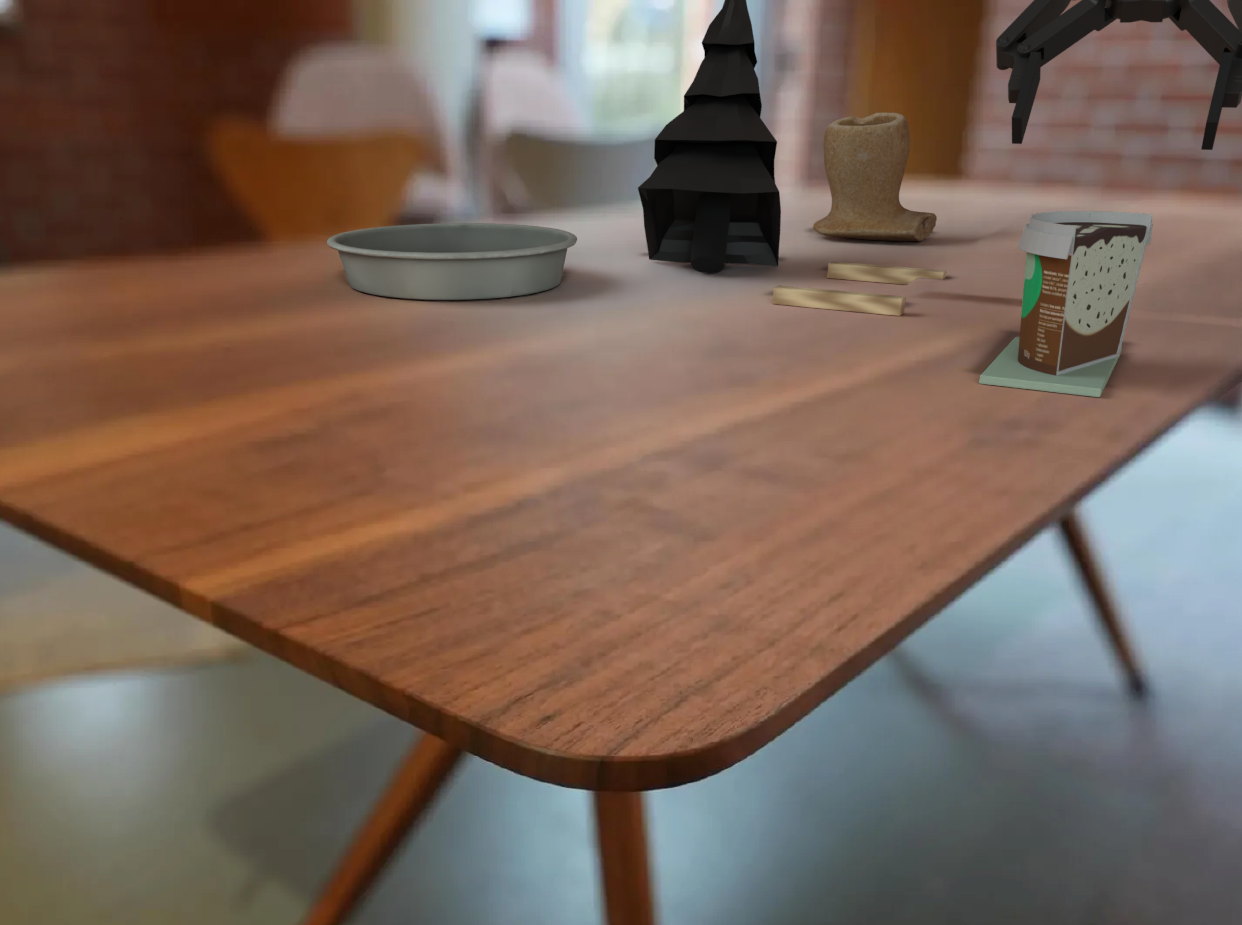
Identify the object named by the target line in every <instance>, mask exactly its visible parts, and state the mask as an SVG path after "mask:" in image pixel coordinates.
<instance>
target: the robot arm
mask: <svg viewBox="0 0 1242 925" xmlns="http://www.w3.org/2000/svg"><path fill="white" fill-rule="evenodd" d="M1071 1H1073V2H1075V1H1077V0H1032V2H1031V3H1030V4H1029V5H1028V6H1027V7H1026V8H1025V9H1023V11H1022V12H1021V13H1020V14H1019V15H1018V16H1017V17H1016V18H1015V19H1014V20H1013V21H1012V22H1011V23H1010V24H1009V25H1008V26H1007V28H1006V29H1005V30H1004V31H1003V32H1001V34H1000V35H999V36H998V37H997V38H996V40H995V56H996V68H997V69H998V70H1000V71H1006V70H1008V69H1011V73H1010V76H1009V79H1008V83H1007V99H1008V103H1009V104H1015V105H1014V108H1013V112H1012V116H1011V144H1013V145H1022V144H1023V141H1024V138H1025V134H1026V131H1027V127H1028V124H1029V120H1030V117H1031V113H1032V110H1033V106H1034V103H1035V99H1036V96H1037V92H1038V89H1039V86H1040V82H1041V68H1042V67H1043V66H1045V65H1046V64H1048V63H1049V62H1051V61H1052V60H1053V59H1055V58H1057V57H1058V56H1059V55H1061V54H1062V53H1064V52H1065V51H1066V50H1068V49H1069V48H1071V47H1072V46H1073V45H1075V44H1077V43H1078V42H1079V41H1081V40H1082V39H1084V38H1085V37H1086V36H1088V35H1089V34H1091V33H1092V32H1093V31H1096V32H1101V31H1102V30H1103V29H1105V28H1106V27H1107V26H1109V25H1110V24H1111V23H1113V22H1115V21H1116V20H1119V23H1120V24H1125V23H1126V24H1127V23H1136V22H1140V21H1142V22H1148V23H1163V20H1165V19H1169V20H1170V21H1171V22H1172V23H1173V24H1174V25H1175V26H1176V27H1177V28H1178V29H1179V30H1180V31H1181V32H1183V31H1185V30H1186V32H1187V33H1189V35H1190V36H1191V37H1192V38H1193V39H1194V40H1195V41H1196V42H1197V43H1198V44H1199V45H1200V46H1201V47H1202V48H1203V49H1204V50H1205V51H1206V53H1207V54H1209V56H1210V57H1211V58H1212V59H1213V60H1214V61H1215V62H1216V63H1217V64H1218V65H1219V67H1218V71H1217V75H1216V79H1215V84H1214V88H1213V93H1212V97H1211V101H1210V105H1209V110H1208V113H1207V117H1206V123H1205V127H1204V133H1203V138H1202V143H1201V148H1200V149H1201V150H1202V151H1213V149H1214V144H1215V140H1216V136H1217V132H1218V127H1219V124H1220V118H1221V114H1222V111H1223V108H1224V109H1225V108H1228V109H1229V108H1231V109H1233V108H1234V109H1236V108H1238V107H1239V105H1240V104H1241V101H1242V0H1226V2H1227V8H1228V11H1229V13H1230V15H1231V17H1232V19H1233V21H1234V23H1235V24H1234V23H1233V22H1232V21H1231V20H1230V19H1229V18H1228V17H1227V16H1226V15H1225V14H1224V13H1223V12H1222V11H1221V10H1220V9H1219V8H1218V7H1217V6H1216V5H1215V4H1214V3H1213V2H1212V1H1211V0H1080V1H1079V2H1077V3H1075V4H1073V5H1072V6H1071V7H1070V8H1068V7H1069V5H1070V4H1071ZM1067 8H1068V9H1067ZM1066 9H1067V10H1066Z"/></svg>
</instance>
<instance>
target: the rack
mask: <svg viewBox="0 0 1242 925" xmlns="http://www.w3.org/2000/svg"><path fill="white" fill-rule="evenodd" d="M947 273H948V271H947V270H945V269H933V268H921V267H907V266H905V267H904V266H896V265H895V266H894V265H893V266H892V265H884V264H883V265H882V264H881V265H880V264H869V263H855V262H843V261H831V262H828V263H827V273H826V279H833V280H835V279H836V280H846V281H859V282H867V283H868V282H870V283H881V284H882V283H883V284H892V285H893V284H894V285H905V286H907V285H909V284H910V283H912V282H914V281H916V280H917V279H919V278H921V279H932V280H933V279H934V280H935V279H936V280H944V279H946V278H947ZM906 300H907V297H906V296H905V295H892V294H881V293H873V292H872V293H871V292H869V293H868V292H861V291H860V292H859V291H849V290H848V291H847V290H837V289H826V288H813V287H801V286H791V285H780V284H779V285H777V286H774V287H773V290H772V305H779V306H780V305H781V306H789V307H800V308H809V309H811V308H813V309H821V310H833V311H842V312H853V313H863V314H874V315H875V314H876V315H885V316H897V317H901V316H903V315H904V314H905V309H906Z"/></svg>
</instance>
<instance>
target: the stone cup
mask: <svg viewBox="0 0 1242 925" xmlns="http://www.w3.org/2000/svg"><path fill="white" fill-rule="evenodd" d="M910 150H911V131H910V126H909V122H908V120H907V118H906V117H905V116H904V115H903V114H901V113H898V112H875V113H873V114H870V115H868V116H864V117H862V118H861V117H857V116H845V117H842V118H839V119H836V120H834V121H832V122H830V124H828V126H827V127H826V129H825V131H824V135H823V164H824V169H825V175H826V178H827V183H828V186H829V191H830V194H831V207H830V211H829V213H827V215H826V216H824V217H822V218H820V219H819V220H817V221H816V222H814V223H813V225H812V229H813V231H814V232H816V233H818V234H819V235H823V236H827V237H828V236H829V237H837V238H847V239H856V240H867V241H883V242H884V241H888V242H889V241H892V242H921V241H923V240H925V239H926V238H928V237H929V236H930V234H932V233H933V231H934V229H935V227H936V224H937V219H938V218H937V217H938V216H937V215H936V214H935V213H934V212H926V211H915V210H910V209H908V208H905V207H903V205H902V204H901V202H900V190H901V186H902V183H903V180H904V179H903V178H904V175H905V172H906V169H907V165H908V160H909V155H910Z"/></svg>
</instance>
